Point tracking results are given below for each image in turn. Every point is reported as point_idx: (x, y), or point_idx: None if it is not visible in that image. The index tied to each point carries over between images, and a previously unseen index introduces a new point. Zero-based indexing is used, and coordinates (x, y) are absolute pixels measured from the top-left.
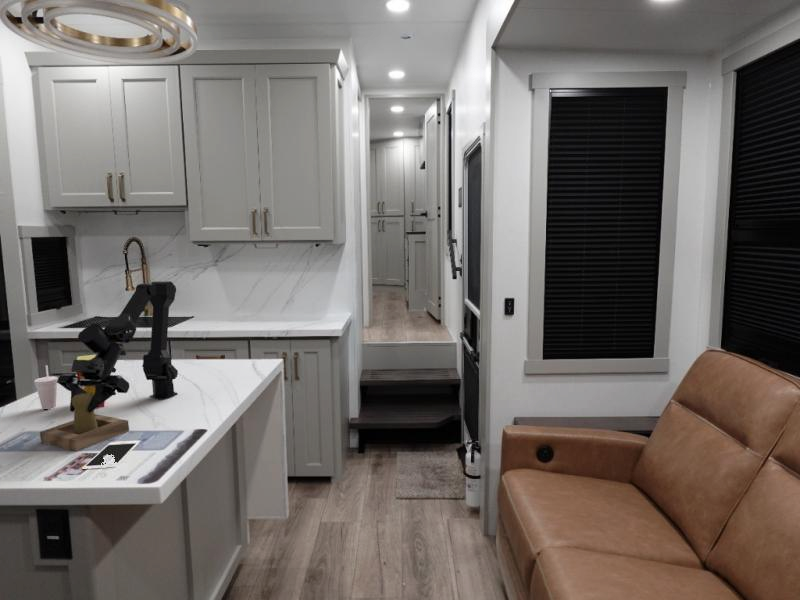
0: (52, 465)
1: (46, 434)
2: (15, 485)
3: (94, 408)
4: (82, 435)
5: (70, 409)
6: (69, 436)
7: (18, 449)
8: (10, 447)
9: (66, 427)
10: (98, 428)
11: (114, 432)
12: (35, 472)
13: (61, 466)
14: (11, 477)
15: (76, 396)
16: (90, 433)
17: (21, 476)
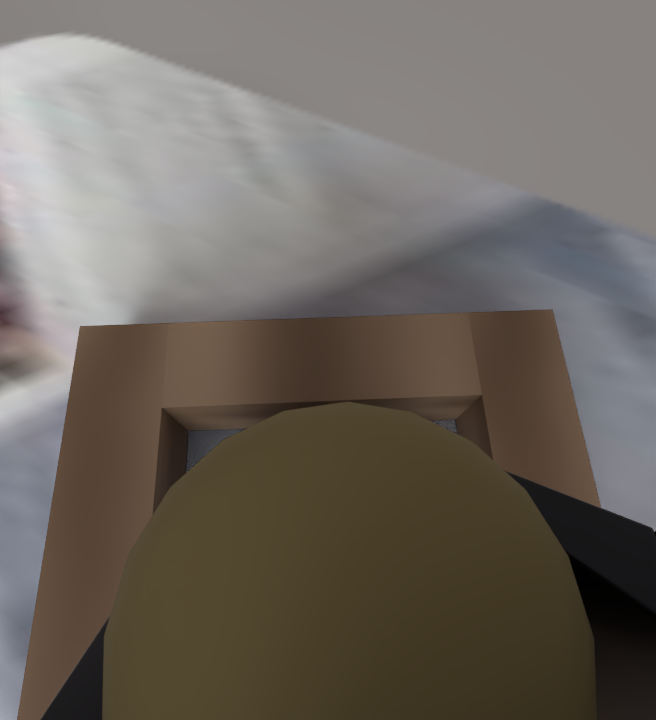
0: (78, 200)
1: (461, 317)
2: (51, 47)
3: None
4: (115, 410)
5: None
6: (206, 351)
7: (511, 234)
8: (591, 230)
9: None
10: None
11: None
12: (89, 131)
13: (14, 212)
14: (152, 72)
15: (346, 471)
16: (85, 472)
17: (115, 91)
